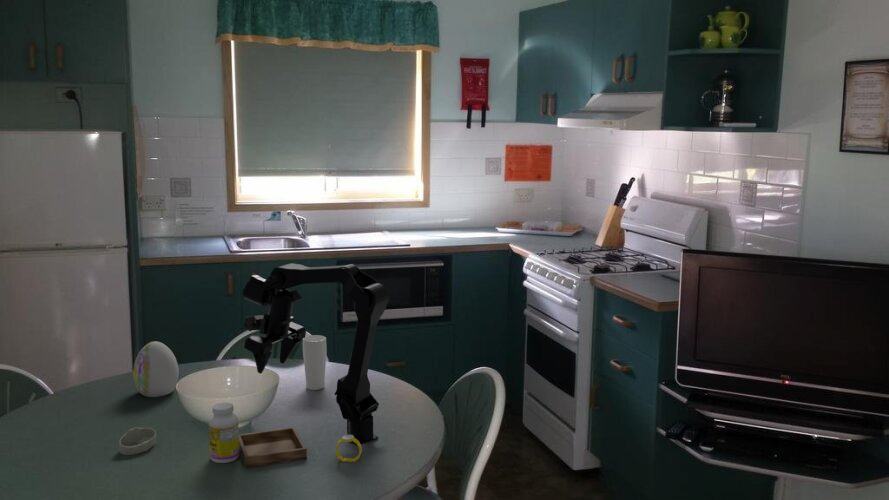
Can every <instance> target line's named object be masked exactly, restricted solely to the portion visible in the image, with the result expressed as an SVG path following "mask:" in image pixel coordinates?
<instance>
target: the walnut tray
mask: <svg viewBox="0 0 889 500" xmlns="http://www.w3.org/2000/svg"><path fill="white" fill-rule="evenodd" d="M307 452H308V449H307V447H306V446H305V443H304V442H303V439H302V438H301V436H300V434H299V432H298V431H297V429H296V427H295V426H292V427H286V428H278V429H271V430H264V431H256V432H248V433H241V434H240V433H239V454H240V456H241V458H242V461H243V464H244V466H245V468H246V469H249V468H255V467H261V466H269V465H275V464H276V465H277V464H282V463H287V462H288V463H289V462H294V461H303V460H307V459H308V455H307V454H308V453H307Z"/></svg>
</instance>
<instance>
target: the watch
mask: <svg viewBox="0 0 889 500" xmlns="http://www.w3.org/2000/svg"><path fill="white" fill-rule="evenodd" d="M351 441H353V442H355V443H356V444H355V445H357V446H358V450H359V452H358V455H356V456H355V457H354V458H352V457H351V458H349V457H343V456H342V455H341V454H340V453H339V450H338V449H339V445H340V443H342V442H344V443H352V442H351ZM362 451H363V449H362V444H360V442H359V441H358V440H357V439H355V438H354V436H353V435H347V434H344V435H342V437H341V438H340V439H339V440H338V441H337V443H336V445H335V455H336V457H337V459H338V460H339V461H341V462H343V463H344V462H345V463H346V462H353V463H355V462H356V461H358V460H359V459H360V457H361V456H362V455H361V454H362Z"/></svg>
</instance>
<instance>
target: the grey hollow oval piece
mask: <svg viewBox="0 0 889 500" xmlns="http://www.w3.org/2000/svg"><path fill="white" fill-rule="evenodd" d="M146 438H150V439H149V440H146V441H143V442H141V443H139V442H140V441H142V440H143V439H146ZM118 443H119V444H118V446H119V448H118V449H119V453H120V454H121V455H124V456H131V455H138V454H140V453H144V452H147V451H149V449H151V448H152V447H154V446H155V445H156V443H157V431H156V430H155V429H153V428H151V427H138V426H135V427H133V428H131V429H127V431H126V432H125V433H124V434H123V435H122V437H120V439H119V441H118Z"/></svg>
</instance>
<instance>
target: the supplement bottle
mask: <svg viewBox="0 0 889 500" xmlns="http://www.w3.org/2000/svg"><path fill="white" fill-rule="evenodd" d="M212 414H213V415H211V417H210V418H209V419H208V433H209V435H208V436H209V437H208V439H209V457H210V460H211V461H212V462H214V463H217V464H226V463H227V464H229V463H231V462H234V461H237V459H238V458H239V457H240V451H239V435H240V433H239V432H240V431H239V418H238V415H236V414H235V413H234V404H233V403H231V402H226V401H225V402H219V403H215V404H213V405H212Z"/></svg>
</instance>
